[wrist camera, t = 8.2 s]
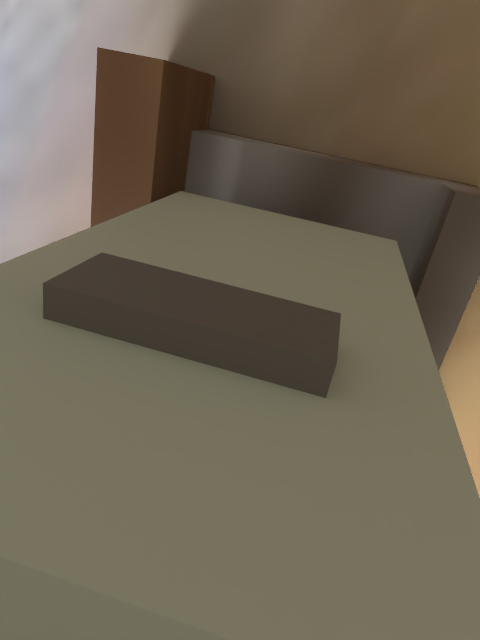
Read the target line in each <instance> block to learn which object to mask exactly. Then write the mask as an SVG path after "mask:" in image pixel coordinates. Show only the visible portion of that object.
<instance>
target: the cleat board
mask: <svg viewBox="0 0 480 640" xmlns="http://www.w3.org/2000/svg"><path fill="white" fill-rule="evenodd" d="M214 80H215V76H213V75H210V74H206V73H203V72H200V71H197V70H194V69H191V68H187V67H184V66H181V65H178V64H175V63H172V62H168V61H165V60H161V59H156V58H151V57H145V56H140V55H135V54H130V53H124V52H119V51H114V50H109V49H103V48H97V75H96V101H95V128H94V155H93V181H92V208H91V227H93V226H95V225H98V224H100V223H103V222H105V221H108V220H110V219H113V218H115V217H118V216H120V215H123V214H125V213H127V212H130V211H132V210H135V209H137V208H140V207H142V206H145V205H147V204H150V203H152V202H155V201H157V200H160V199H162V198H164V197H167V196H169V195H172V194H174V193H177V192H179V191H183V192H187V193H192V194H196V195H200V196H205V197H209V198H213V199H218V200H222V201H226V202H231V203H235V204H239V205H244V206H248V207H252V208H257V209H261V210H265V211H270V212H274V213H278V214H283V215H287V216H291V217H296V218H300V219H304V220H309V221H313V222H317V223H322V224H326V225H330V226H334V227H339V228H343V229H347V230H352V231H356V232H360V233H365V234H369V235H373V236H378V237H382V238H386V239H391V240H395V241H397V244H398V247H399V250H400V253H401V256H402V259H403V263H404V266H405V269H406V272H407V275H408V278H409V281H410V284H411V287H412V290H413V294H414V297H415V300H416V303H417V306H418V309H419V312H420V315H421V318H422V321H423V325H424V328H425V331H426V334H427V337H428V340H429V343H430V346H431V349H432V352H433V356H434V359H435V362H436V365H437V368H438V371H439V368H440V366H441V364H442V361H443V359H444V357H445V354H446V352H447V350H448V347H449V345H450V343H451V340H452V338H453V336H454V333H455V331H456V329H457V326H458V324H459V322H460V319H461V317H462V315H463V312H464V310H465V308H466V305H467V303H468V301H469V299H470V296H471V294H472V292H473V289H474V287H475V285H476V282H477V280H478V278H479V275H480V187H478V186H473V185H468V184H463V183H459V182H454V181H449V180H444V179H440V178H435V177H430V176H425V175H421V174H416V173H411V172H406V171H402V170H397V169H392V168H387V167H383V166H378V165H373V164H368V163H364V162H359V161H354V160H349V159H345V158H340V157H335V156H330V155H326V154H321V153H316V152H311V151H307V150H302V149H297V148H292V147H288V146H283V145H278V144H273V143H269V142H264V141H259V140H254V139H250V138H245V137H240V136H235V135H231V134H226V133H221V132H216V131H212V130H208V124H209V117H210V109H211V102H212V95H213V87H214Z"/></svg>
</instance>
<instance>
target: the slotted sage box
mask: <svg viewBox="0 0 480 640" xmlns="http://www.w3.org/2000/svg"><path fill="white" fill-rule="evenodd" d="M0 640H480V498H479V495H478V492H477V489H476V486H475V483H474V480H473V476H472V473H471V470H470V467H469V464H468V461H467V458H466V455H465V452H464V449H463V445H462V442H461V439H460V436H459V433H458V430H457V427H456V424H455V421H454V418H453V414H452V411H451V408H450V405H449V402H448V399H447V396H446V393H445V390H444V387H443V383H442V380H441V377H440V374H439V371H438V368H437V365H436V362H435V359H434V356H433V352H432V349H431V346H430V343H429V340H428V337H427V334H426V331H425V328H424V325H423V321H422V318H421V315H420V312H419V309H418V306H417V303H416V300H415V297H414V294H413V290H412V287H411V284H410V281H409V278H408V275H407V272H406V269H405V266H404V263H403V259H402V256H401V253H400V250H399V247H398V244H397V241H395V240H391V239H386V238H382V237H378V236H373V235H369V234H365V233H360V232H356V231H352V230H347V229H343V228H339V227H334V226H330V225H326V224H322V223H317V222H313V221H309V220H304V219H300V218H296V217H291V216H287V215H283V214H278V213H274V212H270V211H265V210H261V209H257V208H252V207H248V206H244V205H239V204H235V203H231V202H226V201H222V200H218V199H213V198H209V197H205V196H200V195H196V194H192V193H187V192H183V191H179V192H177V193H174V194H172V195H169V196H167V197H164V198H162V199H160V200H157V201H155V202H152V203H150V204H147V205H145V206H142V207H140V208H137V209H135V210H132V211H130V212H127V213H125V214H123V215H120V216H118V217H115V218H113V219H110V220H108V221H105V222H103V223H100V224H98V225H95V226H93V227H90V228H88V229H85V230H83V231H81V232H78V233H76V234H73V235H71V236H68V237H66V238H63V239H61V240H58V241H56V242H53V243H51V244H48V245H46V246H44V247H41V248H39V249H36V250H34V251H31V252H29V253H26V254H24V255H21V256H19V257H16V258H14V259H11V260H9V261H7V262H4V263H2V264H0Z"/></svg>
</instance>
